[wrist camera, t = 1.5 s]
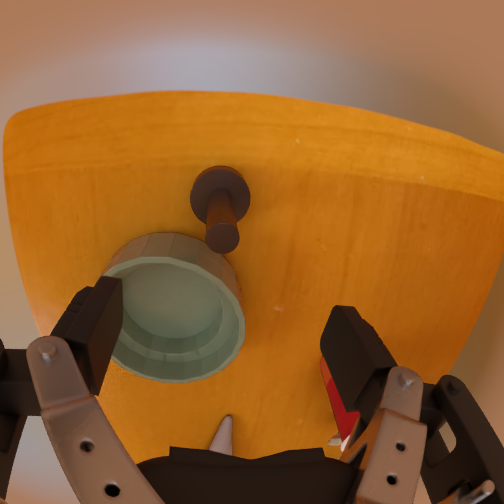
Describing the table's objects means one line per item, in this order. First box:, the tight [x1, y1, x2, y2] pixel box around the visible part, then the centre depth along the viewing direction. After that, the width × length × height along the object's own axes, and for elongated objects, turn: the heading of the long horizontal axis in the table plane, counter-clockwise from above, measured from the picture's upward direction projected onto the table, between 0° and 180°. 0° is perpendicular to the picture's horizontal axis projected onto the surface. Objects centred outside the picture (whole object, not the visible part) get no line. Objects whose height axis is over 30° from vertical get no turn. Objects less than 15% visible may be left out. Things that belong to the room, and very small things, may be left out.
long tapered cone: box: [208, 416, 233, 456], centre depth 44 cm, size 6×6×19 cm
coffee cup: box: [320, 357, 360, 452], centre depth 32 cm, size 8×8×15 cm
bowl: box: [96, 233, 246, 383], centre depth 29 cm, size 15×15×6 cm
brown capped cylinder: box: [190, 166, 250, 254], centre depth 23 cm, size 5×5×11 cm
